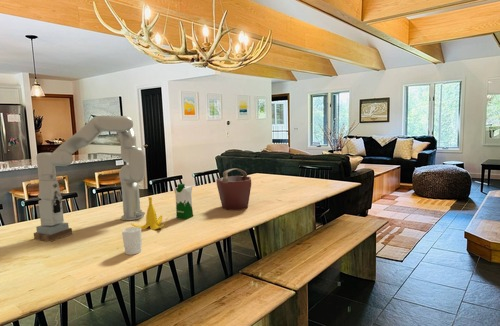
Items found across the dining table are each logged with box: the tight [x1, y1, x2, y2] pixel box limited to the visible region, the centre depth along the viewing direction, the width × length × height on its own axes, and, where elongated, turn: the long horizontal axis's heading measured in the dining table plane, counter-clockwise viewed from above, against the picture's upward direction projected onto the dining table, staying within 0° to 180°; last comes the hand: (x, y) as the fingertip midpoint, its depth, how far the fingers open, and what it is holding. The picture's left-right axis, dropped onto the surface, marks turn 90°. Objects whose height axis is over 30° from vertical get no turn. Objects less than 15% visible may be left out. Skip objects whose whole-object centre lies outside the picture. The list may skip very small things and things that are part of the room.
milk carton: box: [173, 183, 194, 220], centre depth 196 cm, size 9×9×20 cm
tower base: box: [33, 227, 73, 243], centre depth 170 cm, size 12×12×3 cm
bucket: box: [216, 168, 252, 211], centre depth 217 cm, size 24×22×25 cm
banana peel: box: [130, 196, 164, 230], centre depth 179 cm, size 17×19×17 cm
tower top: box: [35, 221, 70, 235], centre depth 169 cm, size 10×10×3 cm
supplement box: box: [38, 198, 65, 226], centre depth 168 cm, size 7×7×13 cm
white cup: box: [121, 226, 143, 256], centre depth 145 cm, size 8×8×10 cm
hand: (51, 211), depth 168 cm, fingers closed on supplement box, 8 cm apart
